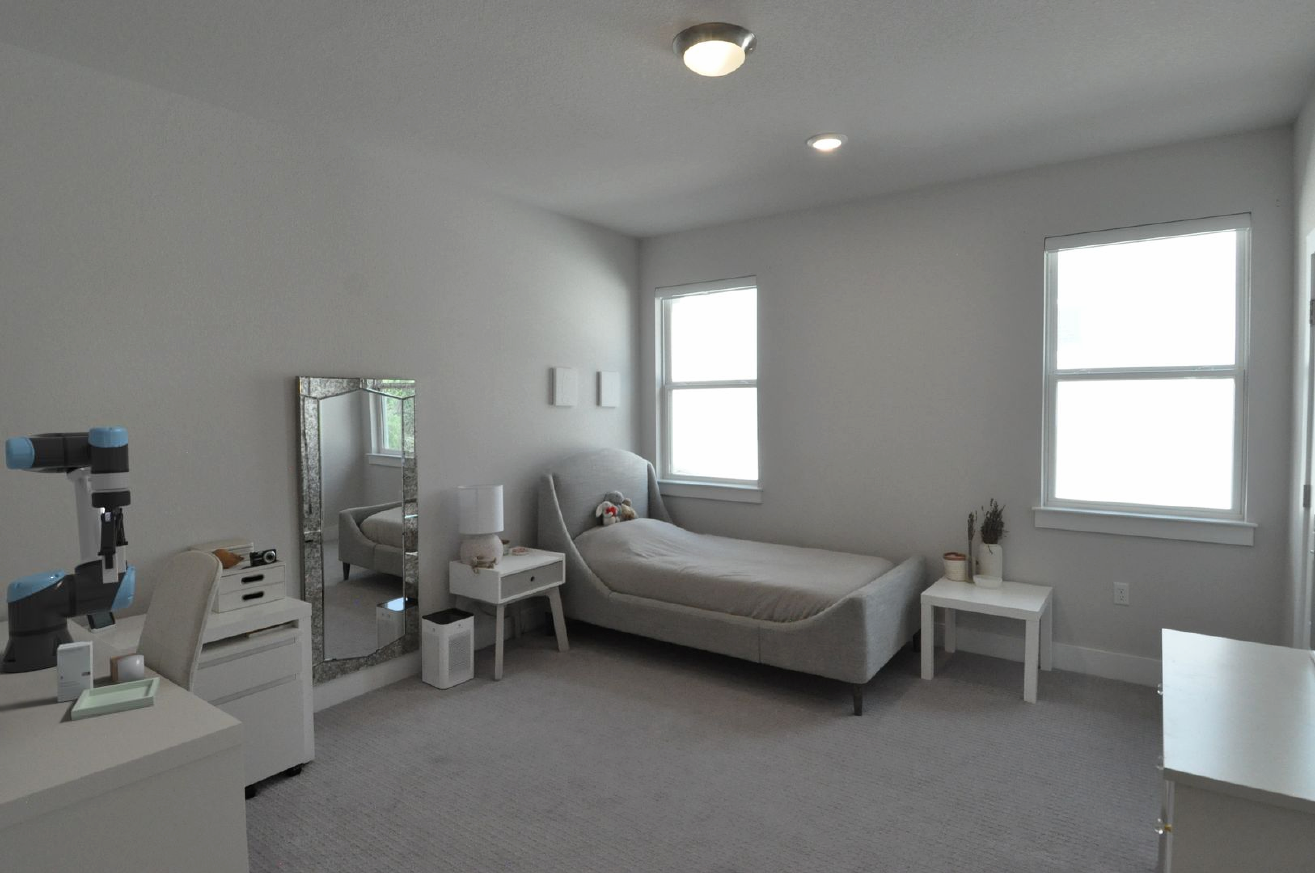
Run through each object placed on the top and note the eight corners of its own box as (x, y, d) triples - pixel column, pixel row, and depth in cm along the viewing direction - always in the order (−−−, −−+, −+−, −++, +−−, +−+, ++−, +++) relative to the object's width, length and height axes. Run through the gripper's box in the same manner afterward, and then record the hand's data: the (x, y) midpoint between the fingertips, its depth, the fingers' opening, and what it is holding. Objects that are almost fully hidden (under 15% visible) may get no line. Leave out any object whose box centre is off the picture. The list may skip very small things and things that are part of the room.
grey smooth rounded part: (120, 681, 169) (119, 657, 169) (145, 677, 171) (144, 653, 171) (117, 688, 164) (116, 663, 164) (143, 683, 167) (142, 659, 167)
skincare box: (57, 703, 156) (54, 649, 156) (60, 696, 160) (58, 644, 160) (92, 696, 160) (90, 644, 159) (94, 690, 164) (92, 639, 163)
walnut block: (110, 677, 172) (109, 657, 172) (135, 672, 176) (134, 652, 175) (114, 682, 169) (113, 662, 168) (139, 676, 172) (138, 656, 172)
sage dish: (84, 698, 159) (84, 689, 159) (159, 685, 166) (159, 676, 166) (71, 720, 147) (71, 711, 147) (153, 705, 154) (153, 696, 154)
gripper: (100, 488, 179) (103, 570, 179) (81, 495, 158) (85, 589, 158) (136, 486, 183) (140, 566, 183) (123, 492, 161) (127, 584, 162)
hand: (114, 577), depth 171 cm, fingers open, 13 cm apart
